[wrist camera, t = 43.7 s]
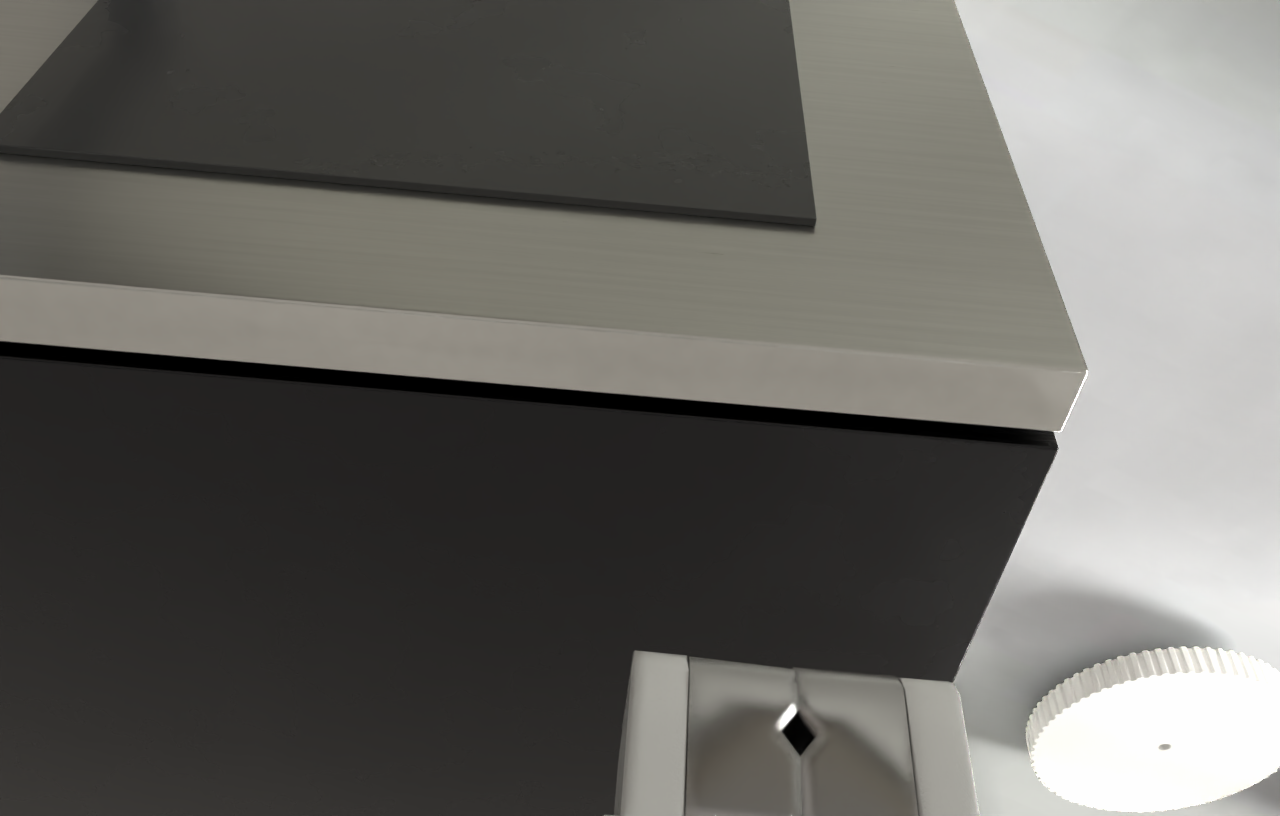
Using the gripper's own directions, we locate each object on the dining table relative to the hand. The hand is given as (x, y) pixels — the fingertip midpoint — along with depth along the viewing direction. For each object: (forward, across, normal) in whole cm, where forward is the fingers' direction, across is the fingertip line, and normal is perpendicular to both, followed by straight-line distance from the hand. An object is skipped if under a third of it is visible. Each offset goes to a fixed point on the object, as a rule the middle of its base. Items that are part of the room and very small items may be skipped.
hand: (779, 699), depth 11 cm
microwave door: (+32, +7, +2) cm, 33 cm away
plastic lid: (+33, -29, +45) cm, 63 cm away
